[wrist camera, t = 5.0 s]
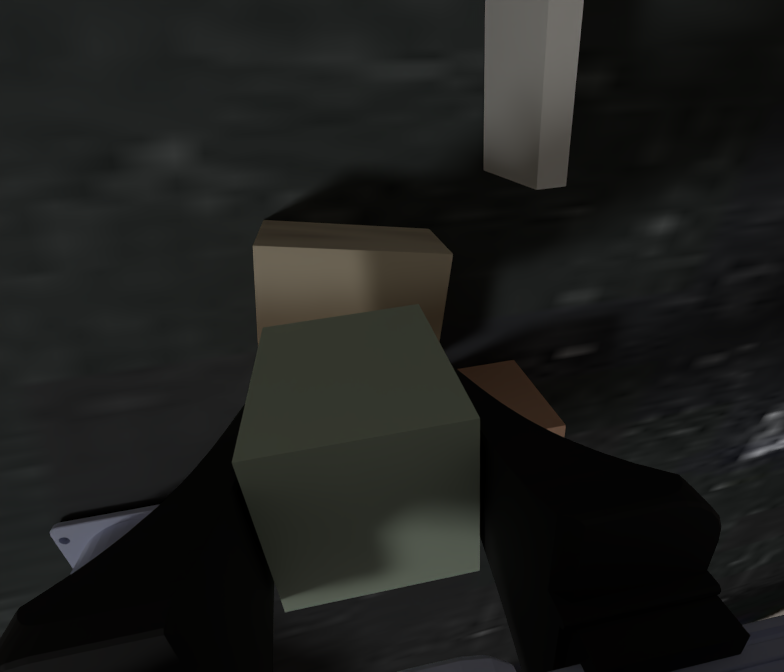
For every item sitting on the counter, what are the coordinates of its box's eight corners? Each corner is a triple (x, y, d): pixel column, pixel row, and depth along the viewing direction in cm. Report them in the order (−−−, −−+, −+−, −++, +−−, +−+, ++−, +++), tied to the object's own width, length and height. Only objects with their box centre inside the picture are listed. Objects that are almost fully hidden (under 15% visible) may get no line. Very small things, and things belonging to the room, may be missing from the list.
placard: (510, 167, 19) (571, 185, 14) (483, 170, 18) (536, 189, 14) (517, -11, 16) (596, -56, 11) (485, -9, 16) (552, -53, 11)
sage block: (427, 424, 15) (479, 570, 10) (294, 448, 15) (285, 611, 10) (418, 303, 13) (480, 418, 8) (262, 327, 13) (231, 462, 8)
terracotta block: (510, 427, 25) (555, 501, 21) (432, 440, 25) (461, 520, 20) (513, 359, 23) (565, 425, 18) (428, 373, 23) (459, 444, 18)
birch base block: (410, 363, 23) (428, 410, 19) (270, 363, 21) (261, 414, 18) (427, 227, 19) (453, 254, 16) (264, 218, 18) (252, 245, 15)
